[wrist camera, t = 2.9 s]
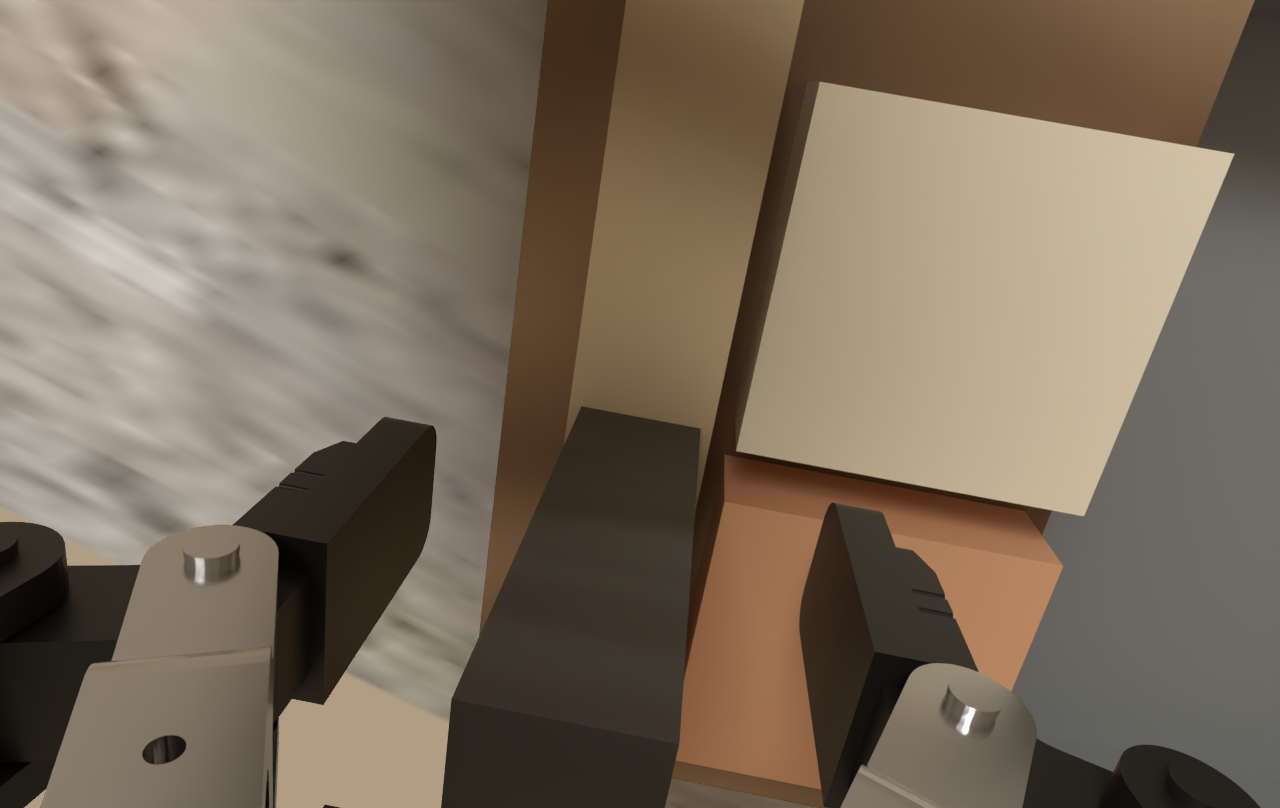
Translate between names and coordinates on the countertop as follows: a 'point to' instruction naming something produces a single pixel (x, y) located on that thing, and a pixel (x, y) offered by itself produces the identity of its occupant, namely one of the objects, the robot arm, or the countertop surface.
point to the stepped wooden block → (824, 52)
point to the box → (1188, 496)
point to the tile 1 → (772, 593)
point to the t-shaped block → (631, 427)
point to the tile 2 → (965, 294)
